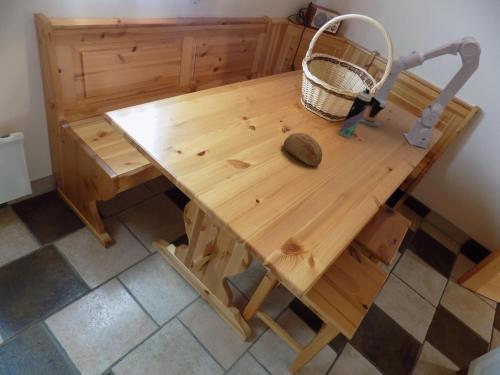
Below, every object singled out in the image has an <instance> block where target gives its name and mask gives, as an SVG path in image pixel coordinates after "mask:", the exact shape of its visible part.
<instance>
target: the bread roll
mask: <svg viewBox="0 0 500 375" xmlns="http://www.w3.org/2000/svg"><path fill="white" fill-rule="evenodd" d="M283 148H284V150H286V151H287V152H288V153H289V154H291V155H292V156H294V157H295V158H297V159H298V160H300V161H301V162H303V163H305V164H306V165H309V166H313V167H314V166H315V167H316V166H319V165H321V162H322V160H323V150H322V147H321V146H320V144H319V143H318V141H317V140H316V139H315V138H314V137H312V136H311V135H309V134H307V133H304V132H302V133H301V132H294V133H292V134H291V133H290V134H289V135H288V136H287V137H286V138H285V140H284V142H283Z"/></svg>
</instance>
